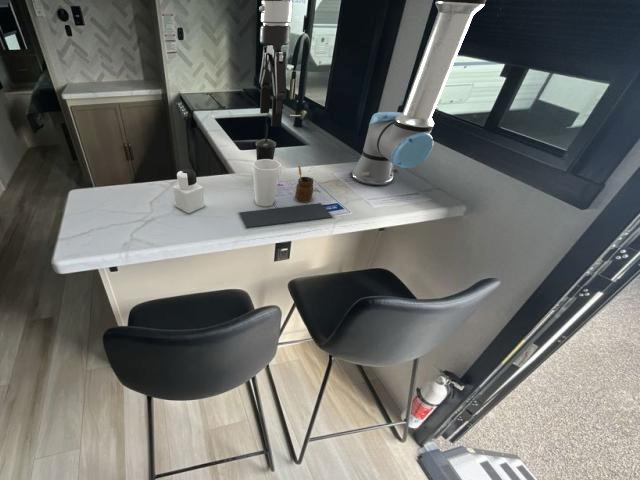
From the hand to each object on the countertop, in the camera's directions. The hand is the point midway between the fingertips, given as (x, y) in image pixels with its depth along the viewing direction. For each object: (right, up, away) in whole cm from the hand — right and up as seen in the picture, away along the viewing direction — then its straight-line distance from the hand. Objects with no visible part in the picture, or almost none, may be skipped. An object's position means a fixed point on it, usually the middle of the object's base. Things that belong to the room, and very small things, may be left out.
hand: (270, 119), depth 95 cm
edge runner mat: (+6, -25, +11) cm, 28 cm away
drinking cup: (+1, -6, +32) cm, 32 cm away
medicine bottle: (-26, -21, +16) cm, 37 cm away
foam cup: (0, -19, +18) cm, 26 cm away
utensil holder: (+14, -17, +20) cm, 30 cm away
